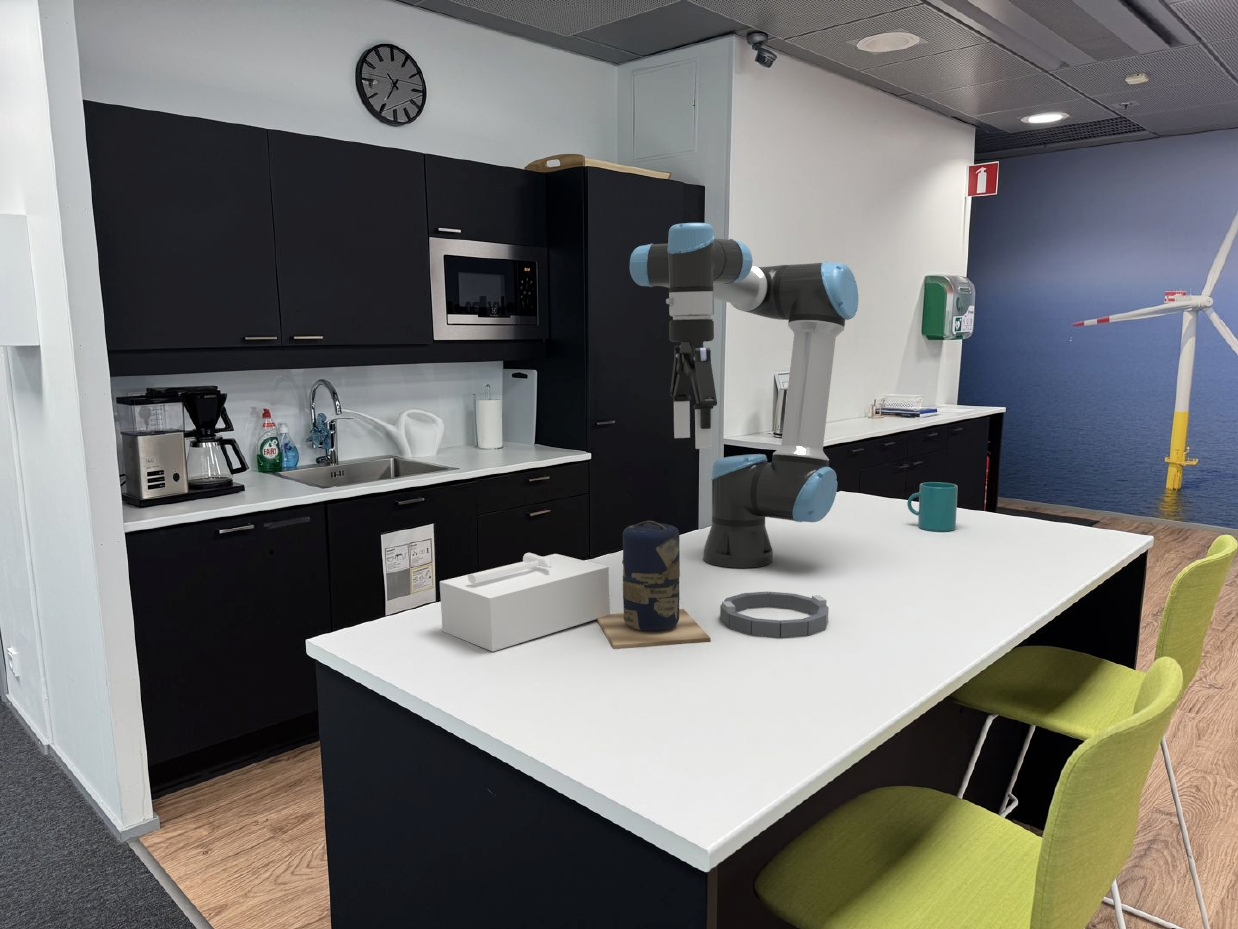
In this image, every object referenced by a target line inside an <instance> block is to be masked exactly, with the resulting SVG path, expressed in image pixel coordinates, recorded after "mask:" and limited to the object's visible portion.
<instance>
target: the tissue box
mask: <svg viewBox="0 0 1238 929" xmlns="http://www.w3.org/2000/svg"><path fill="white" fill-rule="evenodd" d="M609 569H610V567H609V566H608V565H607V566H606V565H602V564H598V563H594V562H591V561H586V560H582V559H578V558H574V557H570V556H566V555H562V554H558V553H553V554H548V555H545V556H541V555H538V554H536V553H532V552H527V553H524V555H523V556H522V561H520V562H515V563H512V564H507V565H502V566H498V567H495V568H494V567H493V568H490V569H486V570H482V571H478V572H477V571H476V572H474V573H470V574H469V573H468V574H465V575H462V576H457V577H454V578H448V579H444V580H440V581H439V592H440V608H441V609H440V610H441V612H440V613H441V627H442V628H441V630H442V632H444V633H446V634H449V635H451V636H454V637H456V638H458V639H461V640H462V641H466V642H468V643H471V644H473V645H475V646H478V647H481V648H483V649H486V650H488V651H490V652H495V651H500V650H502V649H505V648H509V647H512V646H514V645H515V646H516V645H517V644H520V643H524V642H528V641H530V640H531V641H532V640H533V639H536V638H537V639H538V638H540V637H544V636H546V635H550V634H553V633H556V632H559V631H562V630H566V629H569V628H573V627H574V626H579V625H582V624H585V623H587V622H592V621H594V620H596V619H598V618H601V617H604V616H607V615H610V614H611V612H610V611H611V606H610V603H611V602H610V577H609V576H610V574H609V571H610V570H609Z"/></svg>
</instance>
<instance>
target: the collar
mask: <svg viewBox="0 0 1238 929" xmlns="http://www.w3.org/2000/svg"><path fill="white" fill-rule="evenodd" d="M762 608H774V609H786V610H792V611H793V610H794V611H797V612H800V613H805V614H807V613H808V615H810V616H807V617H803V618H797V619H796V618H795V619H781V620H779V619H777V620H776V619H766V618H758V617H752V616H749V615H745V614H742V613H739V612H741V611H742V612H743V611H745V610H748V609H750V610H751V609H762ZM719 612H720V613H719V619H720V621H721V622H722V623H723V624H724V625H725V627H727V628H728V629H730V630H732V631H733V630H734V631H736V632H740V633H742V634H745V635H749V636H756V637H766V638H774V639H787V638H800V637H801V638H802V637H809V636H812V635H815V634H817V633H820V632H824V631H825V630H826V629H827V625H828V624H829V606H828V605H827V599H826V598H824V597H823V596H821V595H820V594H819V595H811V597H810V596H807V595H802V594H798V593H792V592H790V593H789V592H778V591H755V592H744V593H740V594H736V595H733V596H730V597H726V598H724V600H723V601H721V604H720V608H719Z"/></svg>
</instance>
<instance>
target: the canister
mask: <svg viewBox="0 0 1238 929" xmlns="http://www.w3.org/2000/svg"><path fill="white" fill-rule="evenodd" d="M680 552H681V551H680V531H679V529H678V528H677V527H676V526H674V525H671V524H668V523H659V522H656V521H653V520H646V521H642V522H639V523H637V524H632V525H628V526H626V528H624V530H623V532H622V561H621V562H622V599H623V600H622V601H623V606H622V607H623V608H622V609H623V613H624V616H623V617H624V621H625V623H626V624H627V625H628V626H630V627H632V628H634V629H638V630H645V631H658V630H665V629H669V628H671V627H673V626H675V625H676V624H677V623H678V621H679V609H680V576H681V575H680V574H681V570H680V568H681V566H680V563H681V560H680V557H681V556H680V554H681V553H680Z"/></svg>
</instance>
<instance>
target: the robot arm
mask: <svg viewBox="0 0 1238 929" xmlns="http://www.w3.org/2000/svg"><path fill="white" fill-rule="evenodd" d="M714 235H715V234H714V227H713V226H712V225H711V224H710V223H705V222H687V223H677V224H673V225H672V226H671V227H670V228H669V230H668V237H667V238H668V239H667V240H668V242H667V243H655V244H654V243H650V244H645V245H639V246H638V247H636V248H635V249H634V250H633V251H632V252H631V254H630V259H629V272H630V276H631V279H632V280H633V281H634V282H635V284H637V285H638V286H641V287H650V288H653V287H656V286H657V287H665V288H668V294H669V295H668V297H669V298H666V299H665V303H666V304H667V305H669V306H668V308H669V316H670V317H672V319H671V320H670V321H669V323H668V328H669V330H668V333H669V336H668V337H669V338H668V339H669V341H670V342H671V343H680V345H675V346H674V348H673V352H674V355H673V357H674V359H673V366H672V367H673V368H672V373H671V374H672V375H671V380H670V381H671V383H670V390H669V396H670V397H672V401H673V432H674V434H673V436H674V439H685V438H691V427H690V424H691V421H690V420H691V413H690V412H691V411H690V410H691V409H690V408H691V407H690V406H691V405H690V401H692V395H691V394H690V390H691V386H692V390H693V394H694V398H695V403H694V405H693V407H692V409H693V411H694V417H695V418H694V421H695V426H694V427H695V428H694V429H695V434H694V436H695V438H694V440H695V449H696V450H701V449H702V450H703V449H704V450H705V449H713V446H714V445H713V409H714V407H717V405H718V400H717V392H716V386H715V380H714V373H713V367H712V358H711V356H712V355H711V354H712V353H711V350H712V349H711V348H710V347H704V343H705V342H712V341H713V340H714V339H715V333H714V332H715V326H714V325H715V323H714V320H713V318H711V316H714V315H715V300H718V301H721V302H725V303H730V306H732V307H733V308H735V309H737V310H738V311H742V312H744V313H745V312H746V313H749V314H751V315H752V314H753V315H754V316H755V315H756V316H760V317H764V318H769V319H771V320H772V319H774V320H780V321H781V320H782V321H783V320H785V321H788V322H787V326H788V328H789V329H790V330H791V332H793V342H792V349H791V359H790V367H789V376H788V377H789V378H788V385H787V394H786V402H785V403H786V404H785V410H784V419H783V426H782V427H783V428H782V435H781V436H782V437H781V445H780V447H779V448H778V449H776V450H775V451H774V452H773V453H772V458H771V459H772V460H771V462H768V458H767V455H766V454H761V453H758V454H755V453H754V454H742V455H741V454H740V455H733V456H732V455H731V456H726V457H721V458H718V459H716V460H715V461H714V462H713V465H712V472H711V473H712V474H711V525H710V530H709V533H708V535H707V537H706V538H707V539H706V541H705V544H704V548H703V560H704V562H706V563H708V564H710V565H713V566H718V567H723V568H724V567H725V568H732V569H733V568H735V569H739V568H740V569H741V568H742V569H743V568H744V569H745V568H748V569H749V568H750V569H752V568H760V567H764V566H767V565H770V564H771V563H773V560H774V559H773V558H774V556H773V555H774V552H773V551H774V549H773V547H772V543H771V540H770V537H769V534H768V531H767V527H766V518H772V519H777V520H786V521H794V522H796V523H818V522H820V521H822V520H823V519H825V517H826V516H827V515H828V513H829V512H830V511H831V509H832V507H833V505H834V502H835V500H836V496H837V492H838V491H837V490H838V481H837V478H838V477H837V473H836V471H835V470H834V469H833V468H831V467H830V465H829V464H830V459H829V457H828V456H827V455H826V454H825V452H824V442H825V434H826V426H827V425H826V424H827V416H828V408H829V401H830V400H829V398H830V389H831V382H832V372H833V364H834V357H835V356H834V355H835V348H836V340H837V339H836V338H838V336H839V335H840V334H842V332H844V331H845V325H846V321H849V320H851V319H853V318H854V317H855V316H856V315H857V314H856V313H857V312H858V308H859V289H858V285H857V281H856V277H855V275H854V272H853V271H852V270H851V268H850V267H849V266H848V265H846V264H845V263H842V262H829V261H823V262H817V263H816V262H815V263H814V262H813V263H797V264H779V265H771V266H755V265H753V254H752V252H751V249H750V248H749V247H748V246H747V244H745V243H743V242H742V241H739V240H735V239H733V238H729V239H723V238H715V236H714Z"/></svg>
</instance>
